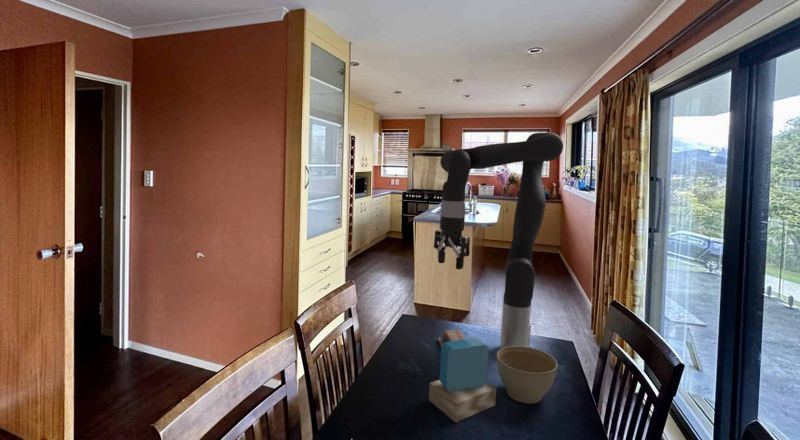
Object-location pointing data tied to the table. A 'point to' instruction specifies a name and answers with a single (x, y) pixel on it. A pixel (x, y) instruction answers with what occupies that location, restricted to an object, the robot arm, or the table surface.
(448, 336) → the packaged product
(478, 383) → the blue product box
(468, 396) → the stand
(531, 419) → the table surface
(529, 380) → the planter bowl
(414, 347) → the table surface
